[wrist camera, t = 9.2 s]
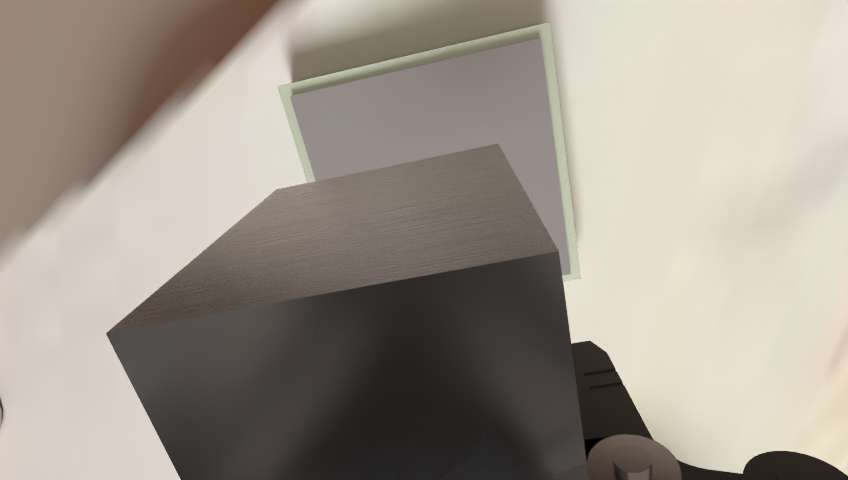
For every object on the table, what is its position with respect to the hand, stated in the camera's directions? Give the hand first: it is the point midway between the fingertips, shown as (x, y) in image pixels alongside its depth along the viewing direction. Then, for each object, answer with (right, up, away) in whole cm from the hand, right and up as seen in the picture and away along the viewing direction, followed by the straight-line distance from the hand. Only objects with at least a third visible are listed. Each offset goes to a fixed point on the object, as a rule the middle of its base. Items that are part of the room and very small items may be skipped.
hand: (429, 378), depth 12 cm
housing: (0, 0, +1) cm, 1 cm away
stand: (+1, +7, +18) cm, 19 cm away
